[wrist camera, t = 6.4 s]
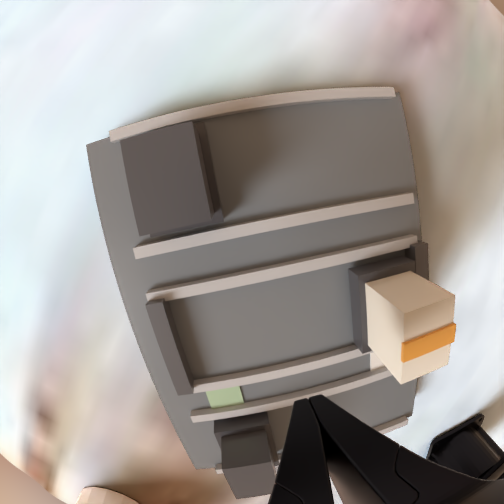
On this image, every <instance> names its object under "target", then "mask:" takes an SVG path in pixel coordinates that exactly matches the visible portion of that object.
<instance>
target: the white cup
mask: <svg viewBox="0 0 504 504" xmlns="http://www.w3.org/2000/svg"><path fill="white" fill-rule="evenodd" d="M76 504H139V503H138V502H136V501H135V500H133V499H131V498H129V497H127V496H125V495H123V494H120V493H117V492H115V491H112V490H109V489H104V488H98V487H88V488H83V489H82V491H81V493H80V494H79V497H78V499H77V502H76Z"/></svg>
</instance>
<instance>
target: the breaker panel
mask: <svg viewBox="0 0 504 504" xmlns="http://www.w3.org/2000/svg"><path fill="white" fill-rule="evenodd" d="M109 135H110V137H108V138H105V139H102V140H99V141H96V142H93V143H90V144H87V145H86V147H87V153H88V160H89V166H90V171H91V177H92V182H93V188H94V193H95V197H96V202H97V207H98V211H99V216H100V220H101V224H102V229H103V233H104V237H105V241H106V245H107V248H108V252H109V256H110V260H111V263H112V267H113V270H114V274H115V277H116V280H117V284H118V287H119V290H120V293H121V296H122V300H123V303H124V306H125V309H126V312H127V315H128V318H129V320H130V323H131V326H132V329H133V332H134V335H135V337H136V340H137V343H138V345H139V348H140V351H141V353H142V356H143V358H144V361H145V363H146V366H147V368H148V371H149V373H150V375H151V378H152V380H153V383H154V385H155V387H156V390H157V392H158V394H159V396H160V399H161V401H162V403H163V405H164V407H165V410H166V412H167V414H168V416H169V418H170V420H171V422H172V424H173V426H174V428H175V430H176V432H177V434H178V436H179V438H180V440H181V442H182V444H183V446H184V448H185V450H186V452H187V454H188V456H189V457H190V459H191V461H192V463H193V465H194V467H195V468H196V469H206V468H215V471H216V473H217V474H222V473H224V475H225V477H226V479H227V481H228V483H229V485H230V487H231V489H232V491H233V493H234V495H235V497H236V499H241V498H248V497H255V496H261V495H267V494H271V492H272V489H273V485H274V484H275V483H274V482H275V478H276V470H275V466H277V465H279V463H280V459H281V455H282V451H283V447H284V443H285V438H286V434H287V430H288V426H289V421H290V417H291V412H292V408H293V403H294V401H296V400H300V399H304V398H307V399H309V397H311V396H315V395H319V394H322V395H324V396H325V397H327V398H328V399H330V400H331V401H333V402H334V403H335V404H337V405H338V406H340V407H341V408H343V409H344V410H346V411H347V412H349V413H350V414H352V415H353V416H355V417H357V418H358V419H360V420H361V421H363V422H364V423H366V424H367V425H369V426H370V427H372V428H374V429H375V430H377V431H378V432H380V433H382V434H385V433H388V432H390V431H393V430H395V429H398V428H400V427H402V426H405V425H407V424H408V419H407V417H410V416H412V412H413V406H414V399H415V392H416V384H417V378H416V379H413V380H411V381H409V382H406V383H404V384H400V383H399V382H398V381H397V380H396V378H395V377H394V376H393V375H392V373H391V372H390V371H389V370H388V369H387V367H386V366H385V365H384V364H383V363H382V361H381V360H380V359H379V358H378V357H377V355H376V354H375V353H374V352H373V351H370V352H367V353H364V354H362V353H361V351H360V350H359V349H358V347H357V346H356V345H355V344H354V340H353V323H352V309H351V296H350V285H349V274H348V268H353V267H357V266H361V265H365V264H369V263H373V262H377V261H381V260H385V259H389V258H393V257H397V256H401V255H403V256H405V257H407V258H409V259H412V260H414V261H415V274H417V275H419V276H421V277H423V278H425V279H427V280H428V281H429V271H428V243H425V242H422V241H421V227H420V214H419V204H418V194H417V186H416V178H415V171H414V164H413V158H412V151H411V146H410V140H409V135H408V130H407V125H406V120H405V115H404V111H403V106H402V102H401V98H400V94H399V92H395V91H394V87H349V88H330V89H316V90H304V91H294V92H285V93H276V94H269V95H261V96H255V97H248V98H242V99H236V100H230V101H225V102H219V103H214V104H209V105H204V106H200V107H195V108H190V109H186V110H182V111H178V112H173V113H169V114H166V115H162V116H158V117H154V118H150V119H147V120H143V121H140V122H136V123H133V124H130V125H126V126H123V127H120V128H117V129H114V130H111V131H109Z"/></svg>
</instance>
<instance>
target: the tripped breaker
mask: <svg viewBox="0 0 504 504" xmlns="http://www.w3.org/2000/svg"><path fill="white" fill-rule="evenodd" d="M348 274H349V285H350V296H351V309H352V323H353V340H354V344H355V345H356V346H357V347H358V349H359V350H360V351H361V353H362V354H364V353H367V352H370V351H373V352H374V353H375V354H376V355H377V357H378V358H379V359H380V360H381V361H382V363H383V364H384V365H385V366H386V367H387V369H388V370H389V371H390V372H391V373H392V375H393V376H394V377H395V378H396V380H397V381H398V382H399V383H400V384H404V383H406V382H409V381H411V380H413V379H416V378H418V377H421V376H423V375H425V374H428V373H430V372H432V371H434V370H437V369H439V368H441V367H443V366H445V365H447V364H448V360H449V353H450V346H451V343H452V342H454V339H455V330H456V324H455V323H453V318H454V305H455V295H454V294H452V293H450V292H449V291H447V290H445V289H443V288H441V287H440V286H438V285H436V284H434V283H432V282H430V281H428V280H427V279H425V278H423V277H421V276H419V275H417V274H415V261H414V260H412V259H409V258H407V257H405V256H403V255H401V256H397V257H393V258H389V259H385V260H381V261H377V262H373V263H369V264H365V265H361V266H357V267H353V268H348Z"/></svg>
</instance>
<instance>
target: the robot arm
mask: <svg viewBox="0 0 504 504" xmlns="http://www.w3.org/2000/svg"><path fill="white" fill-rule="evenodd" d="M483 419H484V415H483V414H479V415H477V416H476V417H474V418H472V419H471V420H469V421H467V422H466V423H464V424H462V425H460V426H459V427H457V428H455V429H453V430H451V431H450V432H448V433H446V434H444V435H442V436H440V437H438V438H436V439H435V440H433V441H432V442H431V444H430V448H429V451H428V454H427V457H426V459H425V458H423V457H421V456H419V455H417V454H415V453H413V452H411V451H410V450H408V449H406V448H405V447H403V446H400V445H399V444H398V443H396V442H395V441H393V440H391V439H390V438H388V437H386V436H385V435H383V434H382V433H380V432H378V431H377V430H375V429H374V428H372V427H370V426H369V425H367V424H366V423H364V422H363V421H361V420H360V419H358V418H357V417H355V416H353V415H352V414H350V413H349V412H347V411H346V410H344V409H343V408H341V407H340V406H338V405H337V404H335V403H334V402H333V401H331V400H330V399H328V398H327V397H325V396H324V395H322V394H319V395H315V396H311V397H309V399H307V398H304V399H300V400H296V401H294V403H293V408H292V412H291V417H290V421H289V426H288V430H287V434H286V438H285V443H284V447H283V451H282V455H281V459H280V463H279V467H278V471H277V474H276V478H275V482H274V483H275V484H274V485H273V489H272V492H271V496H270V499H269V502H268V504H334V500H333V494H332V488H331V482H330V477H331V479H332V481H333V484H334V486H335V488H336V490H337V492H338V494H339V496H340V498H341V500H342V502H343V504H504V452H503V451H502V449H501V448H500V447H499V446H498V445H497V444H496V443H495V442H494V441H493V440H492V439H491V437H490V436H489V435H488V434H487V433H486V432H485V431H484V430H483V429H482V428H481V424H482V422H483ZM399 446H400V447H399ZM329 475H330V477H329Z"/></svg>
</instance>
